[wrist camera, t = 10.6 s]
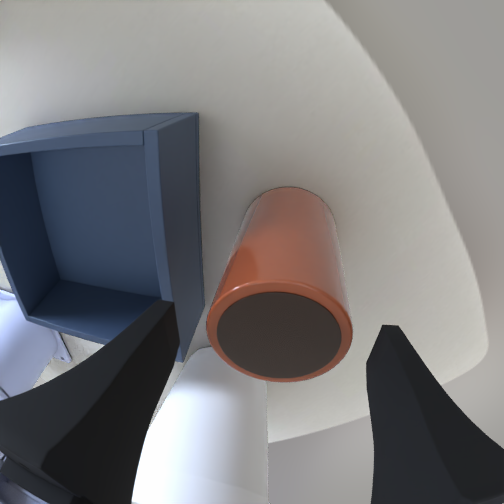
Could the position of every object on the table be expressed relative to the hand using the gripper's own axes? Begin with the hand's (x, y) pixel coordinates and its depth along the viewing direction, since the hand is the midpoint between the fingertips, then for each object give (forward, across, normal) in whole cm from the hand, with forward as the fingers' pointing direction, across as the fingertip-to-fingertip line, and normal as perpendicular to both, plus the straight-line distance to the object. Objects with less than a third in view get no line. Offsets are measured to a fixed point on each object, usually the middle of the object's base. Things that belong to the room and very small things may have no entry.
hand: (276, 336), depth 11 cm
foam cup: (+8, +3, +13) cm, 16 cm away
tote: (+8, +11, 0) cm, 13 cm away
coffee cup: (+8, 0, 0) cm, 8 cm away
